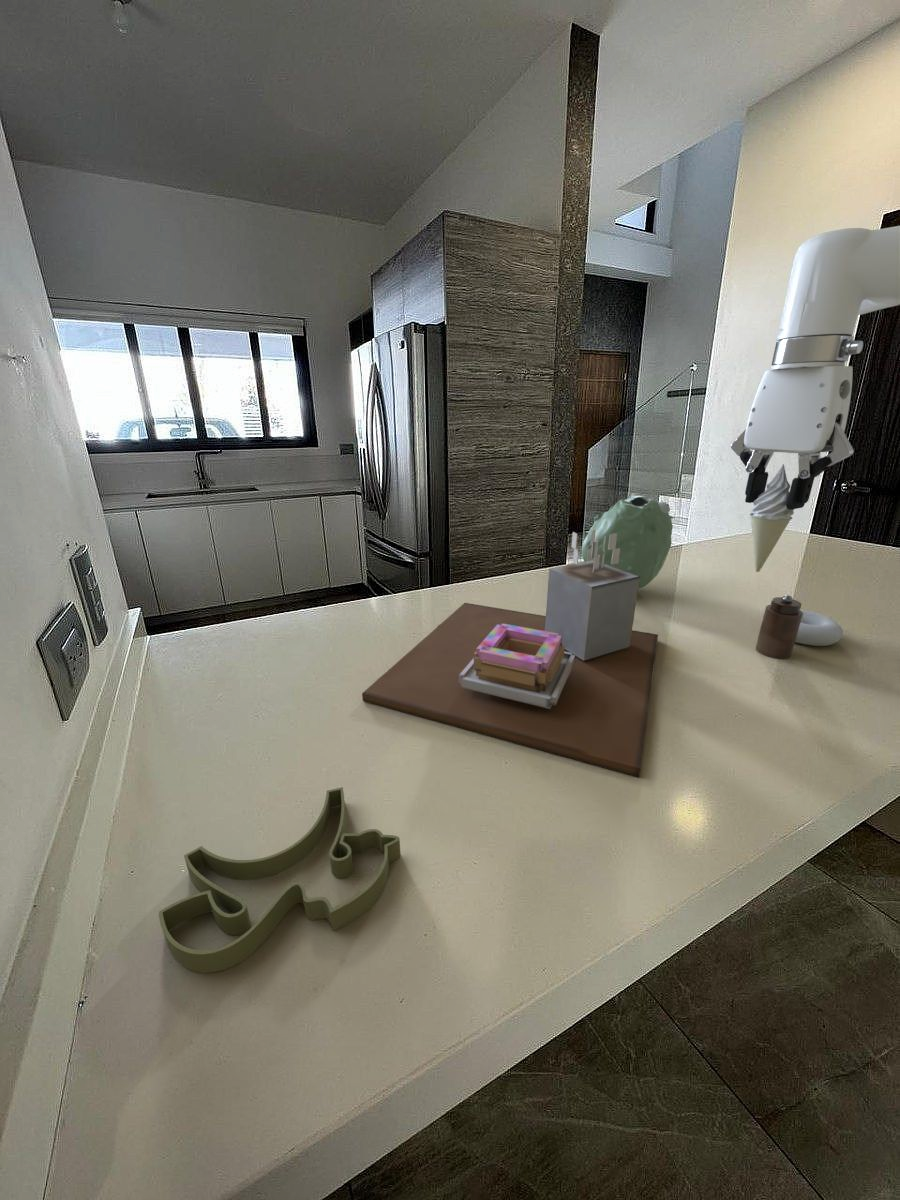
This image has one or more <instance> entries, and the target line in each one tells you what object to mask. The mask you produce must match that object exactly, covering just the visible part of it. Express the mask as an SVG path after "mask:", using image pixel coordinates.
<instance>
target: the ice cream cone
mask: <svg viewBox="0 0 900 1200" xmlns="http://www.w3.org/2000/svg"><path fill="white" fill-rule="evenodd" d="M790 488H791V484H790V482H789V481H788V477H787V472H786V468H785V464H782V466H781V467H780V469H779V470H778V471H777V473H776V474H775V475H774V477H773V478H772V480H771V481H769V483H767V484H766V489H765V492H763V493H762V494H760V495H759V496H758V499H756V500H755V501H754V502H753V506H754V507H752V508H751V512H750V513H749V517H750V525H751V537H752V547H753V560H754V570H755V572H756V573H759V572H761V570H762V568H763V567H764V565H765V563H766V561H767V560H768V558H769V557H770V555H771V553H772V552H773V550H774V548H775V547H776V545H777V544H778V542H779V540H780V539H781V536H782V535H783V533H784V531H785V530H786V528H787V527H788V525H789V524H790V521H791V520H792V519H793V515H794V514H795V512H794V510H795V509H787V508H786V504H787V500H788V496H789V492H790Z"/></svg>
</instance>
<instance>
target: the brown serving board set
mask: <svg viewBox="0 0 900 1200" xmlns="http://www.w3.org/2000/svg"><path fill="white" fill-rule="evenodd" d="M595 533H596V529H594V530H592V534H591V544H590V546H588V550H587V560H586V562H584V561H581V562H579V555H580V553H579V552H580V549H579V548H578V547H577V544H578V535H579V534H578V532H575V531H572V536H571V548H572V549H573V556H572V563H571V564H565V565H560V566H555V567H550V568H548V579H547V580H548V582H547V592H546V593H547V594H546V607H545V615H542V614H536V613H531V612H524V611H518V610H512V609H507V608H506V609H505V608H500V607H493V606H488V605H481V604H474V603H469V602H464V603H463V604H461V605H460V606H459V607H458V608H457V609H455V611H454V612H452V613H451V614H450V615H449V616H448V617H447V618H446V619H444V620H443V621H442V622H441V623H440V624H439V625H438V626H436V628H434V629H433V630H432V631H431V632H430V633H429V634H427V635H426V636H425V637H424V638H423V639H422V640H421V641H419V643H418V644H416V645H415V646H414V647H413V648H412V649H410V650H409V651H408V652H407V653H406V654H405V655H404V656H403V657H401V658H400V659H399V660H398V661H397V662H395V664H394V665H393V666H391V667H390V668H389V669H388V670H387V671H385V672H384V673H383V674H382V675H381V676H379V678H378V679H376V681H374V682H373V683H372V684H371V685H369V687H368V688H366V689H365V690H363V692H361V698H362V702H365V703H370V704H373V705H376V706H380V707H384V708H388V709H389V710H390V709H391V710H395V711H398V712H401V713H405V714H409V715H412V716H416V717H419V718H423V719H426V720H431V721H434V722H438V723H440V724H445V725H448V726H452V727H455V728H459V729H461V730H462V729H463V730H466V731H470V732H472V733H473V732H474V733H477V734H481V735H484V736H488V737H491V738H495V739H499V740H502V741H506V742H509V743H514V744H516V745H520V746H524V747H527V748H532V749H535V750H538V751H542V752H545V753H549V754H552V755H556V756H560V757H563V758H567V759H570V760H575V761H578V762H580V763H581V762H582V763H585V764H589V765H593V766H595V767H599V768H602V769H603V768H604V769H606V770H611V771H614V772H617V773H620V774H625V775H628V776H632V777H636V778H639V777H640V773H641V768H642V767H641V766H642V759H643V750H644V743H645V737H646V728H647V721H648V714H649V707H650V698H651V692H652V691H651V690H652V682H653V676H654V670H655V669H654V668H655V660H656V653H657V646H658V639H659V638H658V637H659V634H656V633H650V632H645V631H639V630H633V627H634V620H635V619H634V618H635V612H636V607H637V606H636V605H637V599H638V592H639V589H638V586H639V579H640V576H638V575H635V574H633V573H630V572H627V571H624V570H621V569H619V568H616V567H613V566H610V565H608V564H605V563H604V556H605V551H604V550H605V541H606V537H605V538H604V543H603V552H602V554H603V558H602V562H599V560H600V555H598V556H597V552H598V543H599V541H595ZM616 539H617V534H610V537H609V545H608V550H613V554H612V562H611V564H618V562H619V554H620V549H615V547H616ZM591 548H592V555H591ZM590 558H594V560H591V561H589V560H590Z"/></svg>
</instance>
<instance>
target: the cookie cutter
mask: <svg viewBox="0 0 900 1200" xmlns="http://www.w3.org/2000/svg"><path fill="white" fill-rule="evenodd" d="M344 792H345V791H344V787H342V786H341V787H337V788H332V789H327V790H326V793H325V794H326V795H325V799H324V804H323V806H322V810H321V812H320V813H319V816H318V818H317V819H316V821H315V823H314V824H313V826H312V827H311V828H310V829H309V830H308V831H307V832H306V833H305V834H304V835H303V836H302V837H301V838H300V839H298V840H297V842H295V843H293V844H292V845H290V846H289V847H287V848H285V849H283V850H280V851H279V852H277V853H274V854H271V855H267V856H264V857H261V858H256V859H233V858H227V857H224V856H220V855H217V854H215V853H213V852H211V851H209V850H208V849H207V848H205V847H203V845H201V846H199V847H197V848H195V849H193V850H191V851H189V852H188V853H186V854H184V855H183V858H184V862H185V866H186V869H187V871H188V875H189V877H190V880H191V882H192V883H193V885H194V887H195V888H196V889H197V890H198V891H199V892H198V893H195V894H192V895H189V896H186V897H184V898H182V899H180V900H178V901H175V902H173V903H171V904H169V905H167V906H165V907H164V908H163V909H161V910H159V911H158V919H159V924H160V927H161V930H162V933H163V936H164V939H165V941H166V945H167V947H168V950H169V951H170V954H171V956H172V957H173V958H174V959H175V960H176V961H177V963H179V964H180V965H181V966H182V967H184V968H185V969H188V970H190V971H192V972H196V973H201V974H211V973H218V972H222V971H225V970H228V969H230V968H232V967H235V966H237V965H239V964H240V963H242V962H243V961H245V960H246V959H247V958H249V957H250V956H251V955H252V954H253V953H254V952H256V950H257V949H259V948H260V946H261V945H262V944H263V943H264V942H265V941H266V940H267V938H268V937H269V936H270V935H271V934H272V933H273V931H274V930H275V929H276V928H277V926H278V925H279V924H280V922H281V921H282V920H283V918H284V917H285V916H286V915H287V914H288V912H289V911H290V910H291V909H292V908H293V907H294V906H295V905H297V904H299V903H301V904H302V905H303V907H304V912H305V917H306V919H307V920H310V921H314V920H320V919H326V920H327V921H328V922H329V923H330V925H331V929H332V931H335V930H338V929H340V928H342V927H344V926H345V925H347V924H349V923H351V922H352V921H354V920H356V919H357V918H359V917H360V916H361V915H363V914H364V913H366V911H367V910H368V909H370V908H371V907H372V906H373V904H375V902H376V901H377V900H378V899H379V898H380V896H381V895H382V894H383V892H384V891H385V890H384V889H385V887H386V886H387V882H388V878H389V874H390V873H389V872H390V863H392V862H395V861H396V860H398V859H399V858H400V857H401V842H400V841H401V839H400V837H399V836H397V835H393V834H383V833H382V831H381V830H379V829H377V828H370V829H366V830H363V831H361V832H357V833H356V832H355V833H354V832H353V833H352V832H351V833H350V832H349V833H347V832H346V831H347V810H346V802H345V801H346V800H345V794H344ZM339 806H341V807H340V808H341V809H340V810H341V811H340V819H339V820H340V821H339V824H338V829H337V832H336V836H335V838H334V841H333V843H332V845H331V847H330V849H329V851H328V855H329V856H328V857H329V863H330V870H331V874H332V876H334V877H335V878H337V879H342V878H343V879H344V878H347V877H349V876H350V875H351V874H352V873H353V871H354V863H353V862H354V861H353V854H352V853H363V852H365V851H368V850H370V849H377V850H379V851H380V852H381V854H382V855H383V861H382V864H381V867H380V869H379V870H378V872H377V874H376V875H375V877H374V878H373V879H372V880H371V882H369V884H367V886H366V887H365V888H363V889H362V890H361V891H360V892H358V893H357V894H356V895H354V896H352V897H351V898H350V899H348V900H346V901H344V902H342V903H340V904H339V905H337V906H335V907H333V904H332V903H331V902H330V900H329V899H328V898H326V897H324V896H318V897H312V898H308V896H307V895H308V894H307V890H306V887H305V885H304V884H303V882H301V881H295V882H292V883H291V884H289V885H287V887H285V888H284V889H283V891H281V893H280V894H279V895H278V897H276V898H275V900H274V901H273V902H272V904H271V905H270V906H269V907H268V908H267V910H266V911H265V912H264V913H263V914H262V915H261V917H259V919H258V920H257V921H256V922H255V923H254V924H253V925H252V923H251V917H250V914H249V911H248V906H247V903H246V902H245V900H243V899H242V898H241V897H239V896H238V895H235V894H233V893H232V892H229V891H228V890H226V889H224V888H222V887H221V886H218V885H217V884H215V883H214V882H212V881H211V880H209V879H208V878H207V877H205V876H204V875H203V874H202V873H200V872H199V870H200V869H202V868H207V869H208V870H209V871H211V872H213V873H214V874H216V875H219V876H221V877H224V878H227V879H232V880H236V881H237V880H238V881H254V880H255V881H256V880H261V879H266V878H270V877H273V876H276V875H279V874H281V873H283V872H286V871H288V870H289V869H292V868H293V867H294V866H296V865H297V864H299V863H300V862H302V861H303V860H304V859H305V858H307V856H308V855H310V854H311V852H312V851H313V850H314V849H315V848H316V847H317V845H318V844H319V843H320V841H321V840H322V838H323V836H324V834H325V832H326V830H327V828H328V826H329V822H330V819H331V814H332V813H331V812H332V808H335V807H339ZM218 906H219V907H220V908H222V909H224V910H225V911H227V912H229V913H227V912H224V911H223V910H222V909H220V908H219V907H218ZM208 913H212V915H213V918H214V922H216V924H217V926H218V928H219V929H220V930H221V931H222V932H224V933H225V934H226V935H229V936H239V937H237V939H235V940H233V941H231V942H229V943H228V944H225V945H223V946H220V947H217V948H212V949H202V950H201V949H199V950H198V949H192V948H189V947H186V946H184V945H182V944H180V943H179V942H178V941H176V939H174V938H173V936H172V934H170V930H173V928H175V927H177V926H179V925H180V924H183V923H185V922H187V921H189V920H191V919H194V918H196V917H198V916H201V915H205V914H208ZM240 935H241V936H240Z"/></svg>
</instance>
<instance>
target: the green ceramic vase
mask: <svg viewBox="0 0 900 1200" xmlns="http://www.w3.org/2000/svg"><path fill="white" fill-rule="evenodd" d="M670 511H671V507H670V504H668V503H667V502H665V501H658V500H656V499H655V498H650V497H648V496H644V494H643V493H640V492H633V493H632V494H631V496H630V497H628V498H625V499H622V498H621V499H620V500H618V501H617V502H616V503H615V504H614V505H610V508H609V510H608V511H601V515H600V514H597V515H596V516H594V518H593V525H592V526H591V527H590V529H589V531H588V532H587V535H586V536H585V538H584V540H583V542H582V544H581V545H582V546H581V558H582V560H583V562H586V560H587V550H588V546H590V544H591V534H592V530H594V529H596V533H595V541H599V543H598V552H597V556H598V555H600V560H599V562H602V558H603V554H602V552H603V543H604V538H605V537H606V541H605V550H604V551H605V556H604V563H605V564H608V565H610V566H613V567H616V568H619V569H621V570H624V571H627V572H630V573H633V574H635V575H638V576H640V579H639V586H638V590H639V589H641V588H644V587H646V586H647V585H649V583H651V582H652V581H653V580H654V579H655V578H656V577H657V576H658V575H659V573H660V571H661V570H662V568H663V567H664V564H665V562H666V560H667V557H668V555H669V553H670V551H671V547H672V542H673V541H672V533H673V529H674V528H673V521H672V519H675V517H674V516H671V515H670V514H669V513H670ZM610 534H617V539H616V547H615V549H620V554H619V562H618V564H611V562H612V554H613V550H608V545H609V537H610ZM591 555H592V548H591ZM591 560H594V558H590V560H589V561H591Z"/></svg>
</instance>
